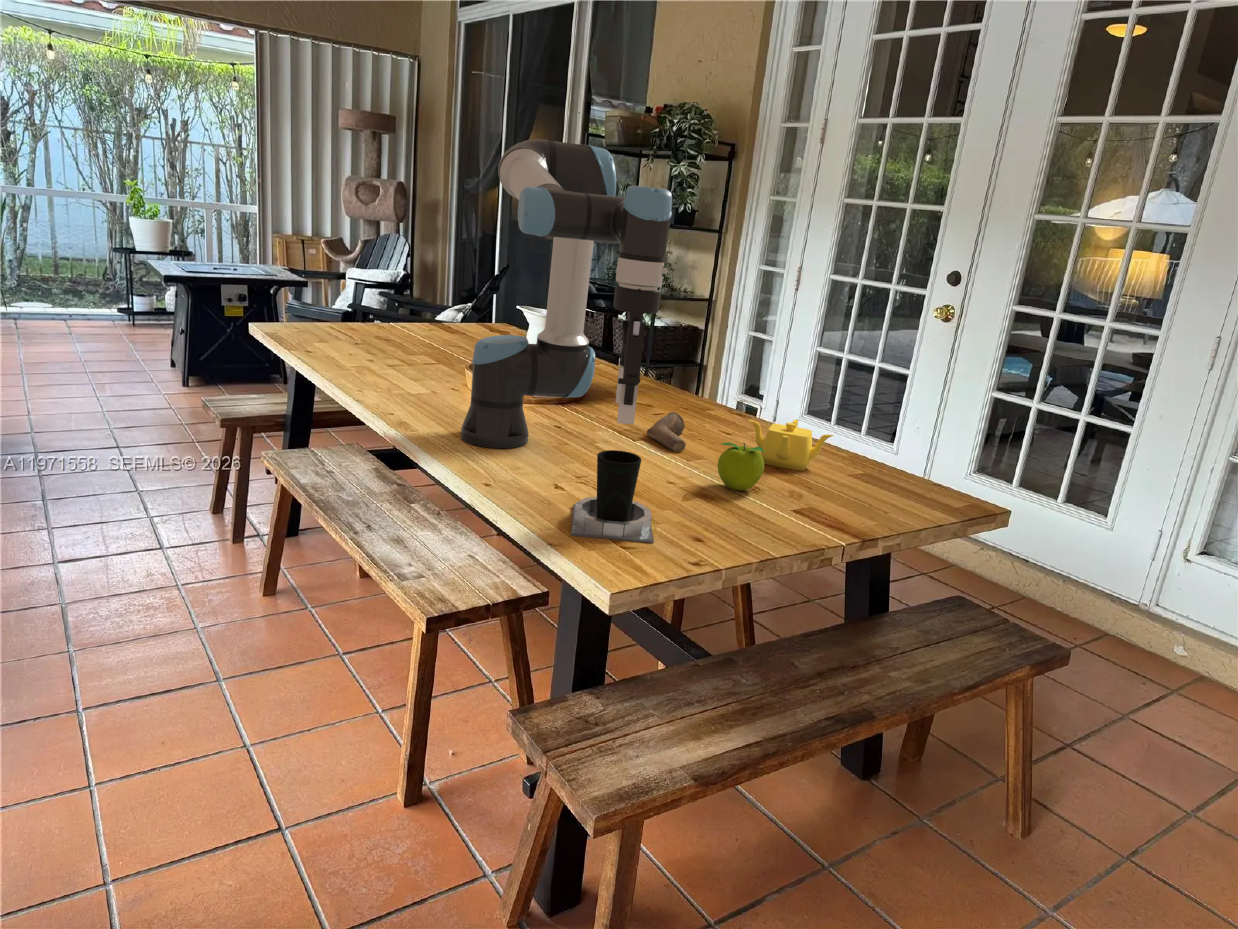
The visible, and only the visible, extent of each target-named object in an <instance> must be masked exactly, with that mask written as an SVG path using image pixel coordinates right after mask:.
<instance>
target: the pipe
mask: <svg viewBox="0 0 1238 929" xmlns="http://www.w3.org/2000/svg"><path fill="white" fill-rule="evenodd" d="M684 429H685V421H684V418H683V417H682V415H681V414H679V413H677V412H669V413H667V414H666V415H665V416H662V417H661V418H660V419H658V420H657V421H656V422H655V423H654V424H653V425H651V427H649V428H648V429H647V430H646V435H647V436H648V437H650V438H652V439H654V440H655V441H656V442H658V443H659V444H660V445H662V446H664V447H666V448H667V449H669V450H670V451H672V452H674V453H681V452H682V451H684V450H685V449H686V444H687V443H686V442H685V441H684V440H683V438H682V437H680V436H681V435H682V434H683V431H684Z"/></svg>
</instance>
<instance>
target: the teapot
mask: <svg viewBox="0 0 1238 929" xmlns="http://www.w3.org/2000/svg"><path fill="white" fill-rule="evenodd" d="M748 421H749V423H751V424H752V426H754V432H755V442H756V446H757V447H761V448H762V449H763V450H764V453H763V452H761V451H760V454H761V455H762V457H763V460H764V465H767V466H772V467H777V468H782V469H787V470H794V471H798V472H799V471H800V472H805V470H806V469H807V467H808V465H809V463H810V460H812V459H815V458H816V457H818V455H819V454H820V453H821V451H822V448H823V446H824V444H825V442H826V441H827V440H828V439H829V438H831V437H834V436H835V435H834V434H822V435H821V436H820V438H819V439H818V441H817V443H816V444H815V446H814V445H813V430H811V429H808V428H802V427H799V426H798V424H799V420H798V419H794V420H793V421H792V422H786V423H785V424H781V423H780V424H779V423H772V424H771V426H770V427H769V428H768V429H767V431H766V435H765V437H764V436H763V433H762V427H761V425H760V422H758V421H755V420H753V419H748Z"/></svg>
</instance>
